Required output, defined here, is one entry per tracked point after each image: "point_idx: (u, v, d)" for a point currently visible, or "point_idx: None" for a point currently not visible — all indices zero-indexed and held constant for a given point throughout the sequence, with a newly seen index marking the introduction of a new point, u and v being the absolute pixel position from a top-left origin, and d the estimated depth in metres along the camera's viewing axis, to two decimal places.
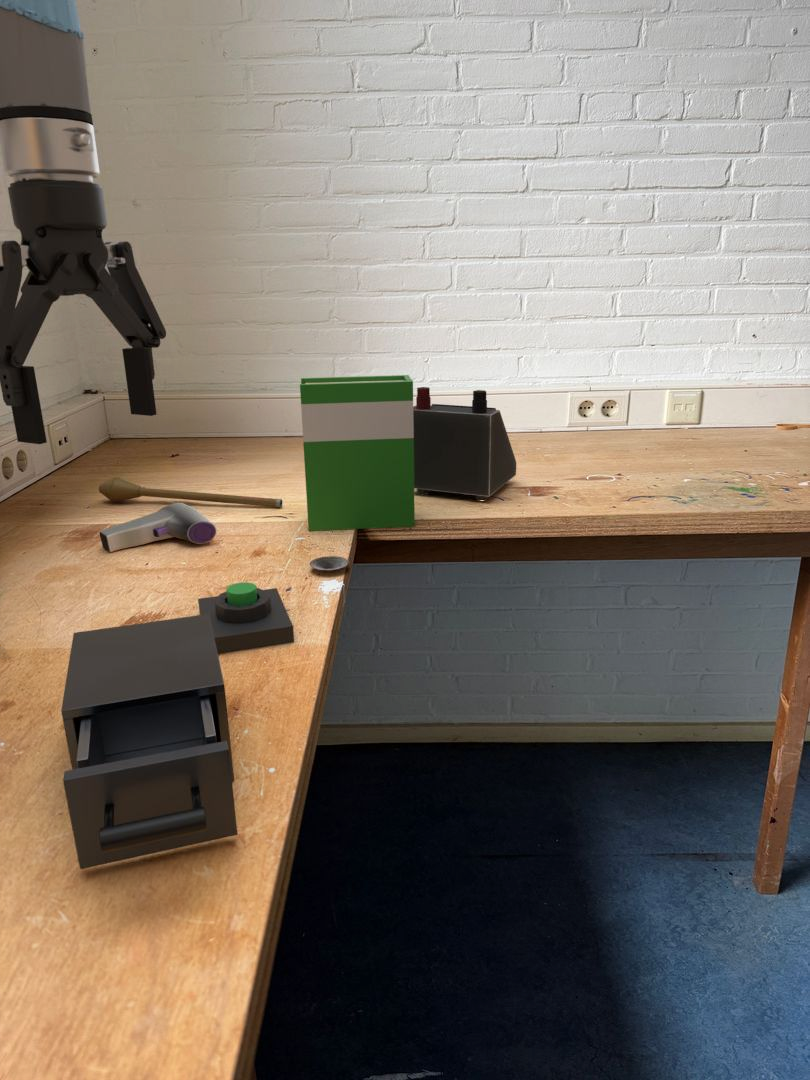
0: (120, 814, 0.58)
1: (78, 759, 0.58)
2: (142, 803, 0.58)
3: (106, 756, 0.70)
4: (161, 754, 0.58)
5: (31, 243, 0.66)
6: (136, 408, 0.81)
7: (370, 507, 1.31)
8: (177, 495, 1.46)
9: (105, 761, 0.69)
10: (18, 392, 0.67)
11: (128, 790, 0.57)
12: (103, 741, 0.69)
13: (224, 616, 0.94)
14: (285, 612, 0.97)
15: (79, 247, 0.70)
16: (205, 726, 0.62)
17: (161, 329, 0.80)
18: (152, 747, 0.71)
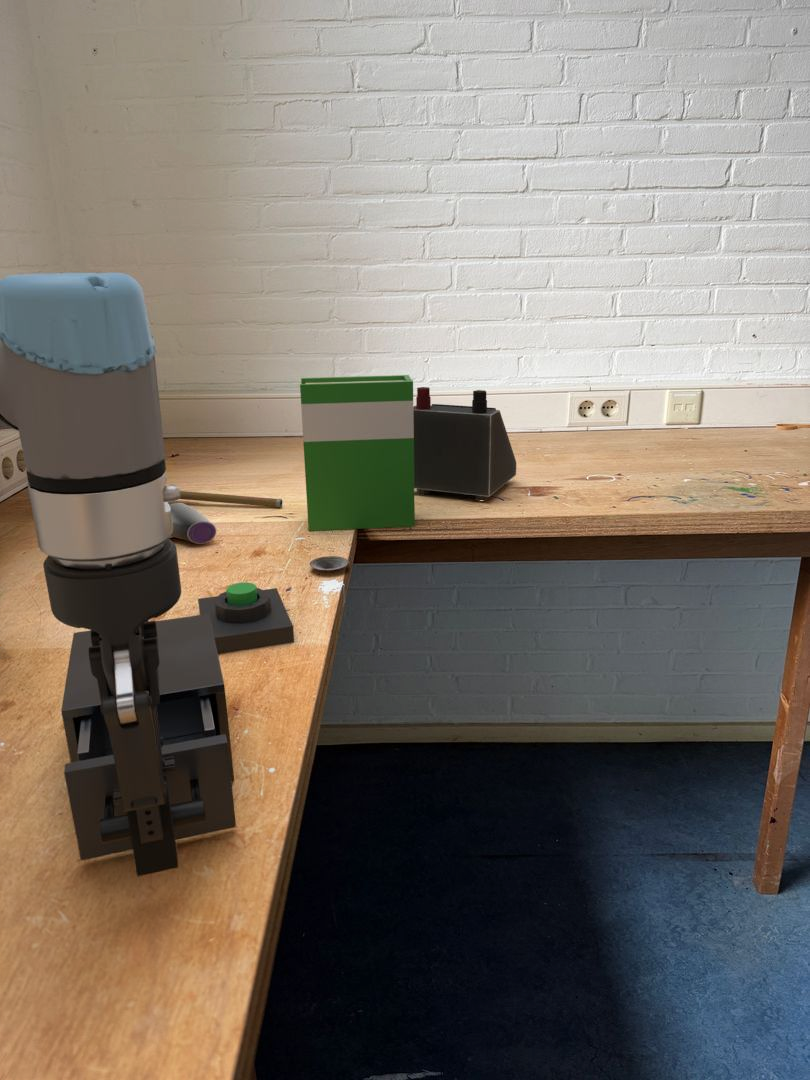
0: (120, 806, 0.59)
1: (79, 752, 0.59)
2: None
3: (106, 750, 0.70)
4: None
5: (131, 649, 0.46)
6: None
7: (370, 507, 1.31)
8: None
9: (105, 755, 0.70)
10: (161, 822, 0.53)
11: None
12: (103, 735, 0.70)
13: (224, 616, 0.94)
14: (285, 612, 0.97)
15: None
16: (204, 720, 0.63)
17: (160, 736, 0.56)
18: None
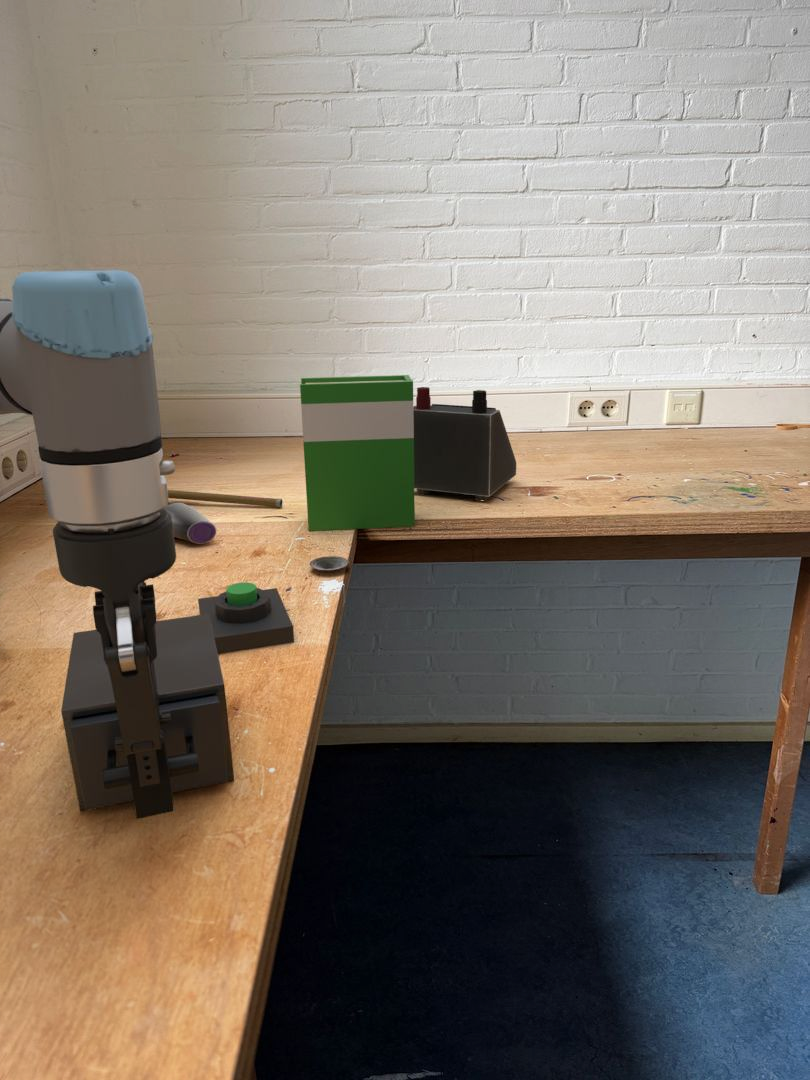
0: (121, 760, 0.64)
1: None
2: None
3: None
4: None
5: (130, 605, 0.51)
6: None
7: (370, 507, 1.31)
8: (177, 495, 1.46)
9: None
10: (158, 767, 0.58)
11: None
12: None
13: (224, 616, 0.94)
14: (285, 612, 0.97)
15: None
16: None
17: (157, 693, 0.61)
18: None
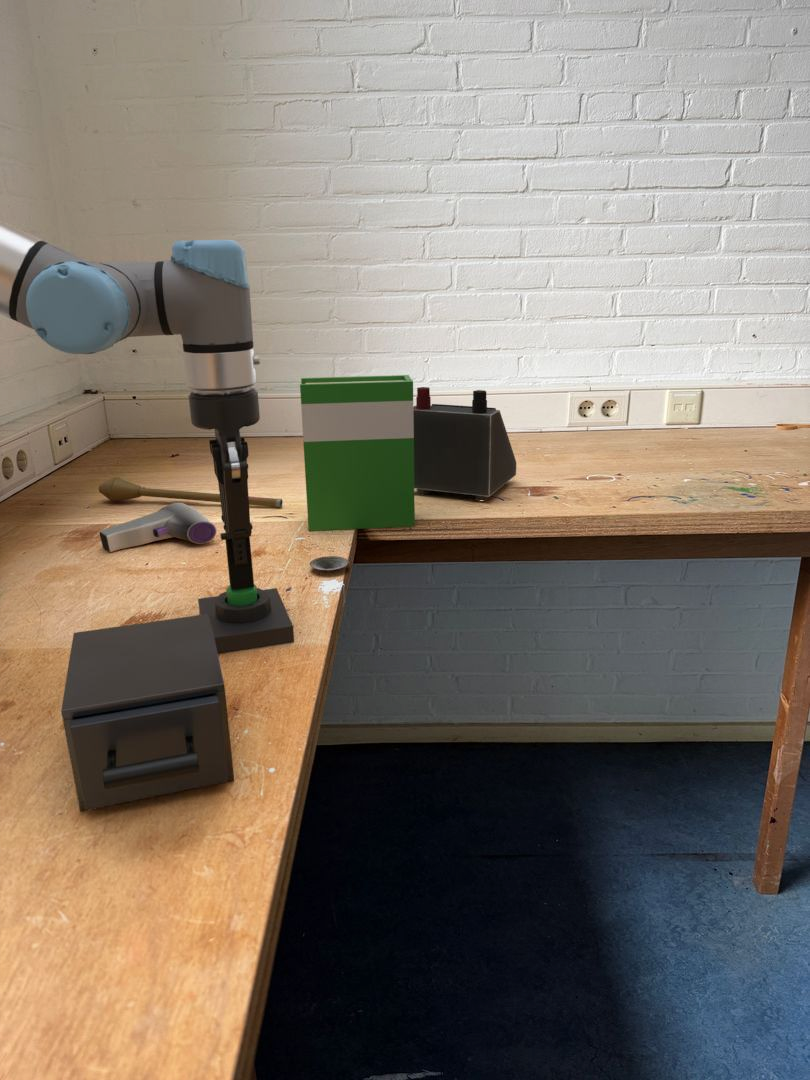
0: (121, 760, 0.64)
1: None
2: (141, 749, 0.64)
3: None
4: (158, 706, 0.65)
5: (236, 440, 0.86)
6: None
7: (370, 507, 1.31)
8: (177, 495, 1.46)
9: None
10: None
11: (128, 738, 0.64)
12: None
13: (224, 616, 0.94)
14: (285, 612, 0.97)
15: None
16: None
17: None
18: None
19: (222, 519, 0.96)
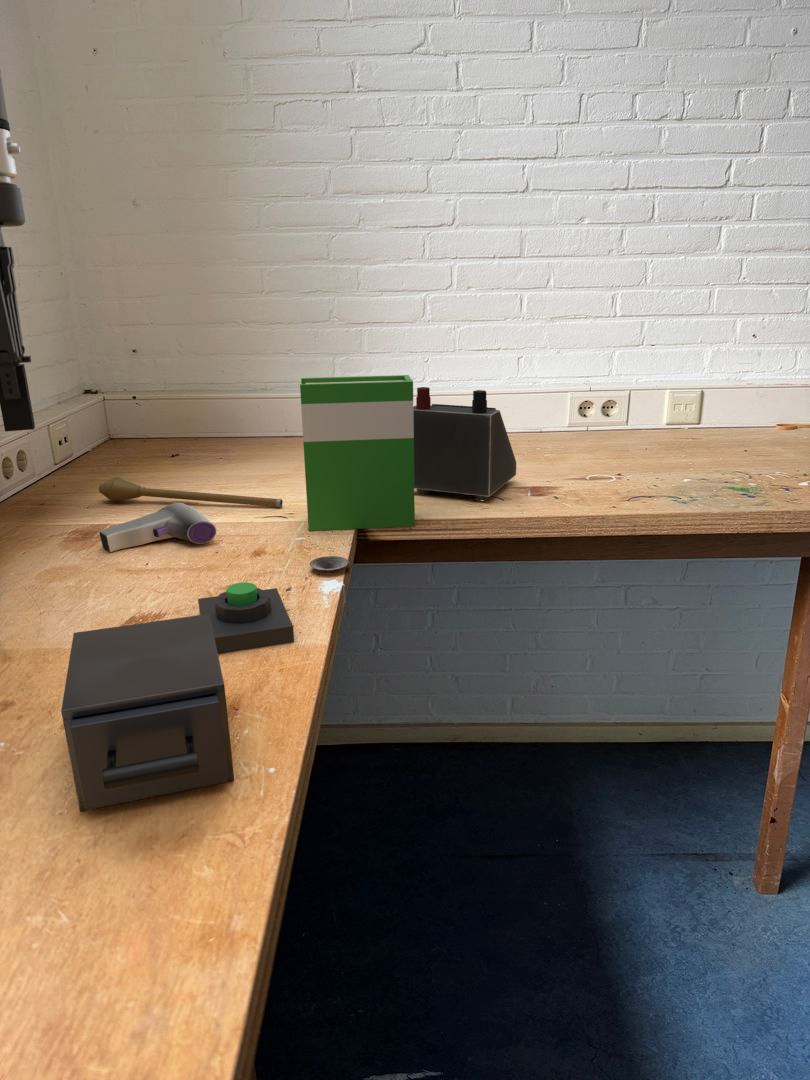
0: (121, 760, 0.64)
1: None
2: (141, 749, 0.64)
3: None
4: (158, 706, 0.65)
5: None
6: None
7: (370, 507, 1.31)
8: (177, 495, 1.46)
9: None
10: (18, 387, 0.80)
11: (128, 738, 0.64)
12: None
13: (224, 616, 0.94)
14: (285, 612, 0.97)
15: None
16: None
17: (22, 345, 0.83)
18: None
19: None
